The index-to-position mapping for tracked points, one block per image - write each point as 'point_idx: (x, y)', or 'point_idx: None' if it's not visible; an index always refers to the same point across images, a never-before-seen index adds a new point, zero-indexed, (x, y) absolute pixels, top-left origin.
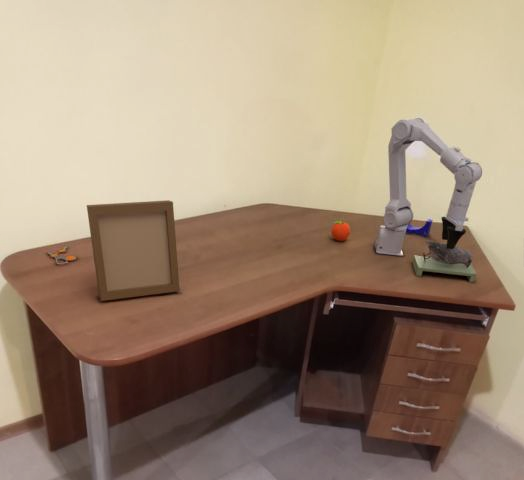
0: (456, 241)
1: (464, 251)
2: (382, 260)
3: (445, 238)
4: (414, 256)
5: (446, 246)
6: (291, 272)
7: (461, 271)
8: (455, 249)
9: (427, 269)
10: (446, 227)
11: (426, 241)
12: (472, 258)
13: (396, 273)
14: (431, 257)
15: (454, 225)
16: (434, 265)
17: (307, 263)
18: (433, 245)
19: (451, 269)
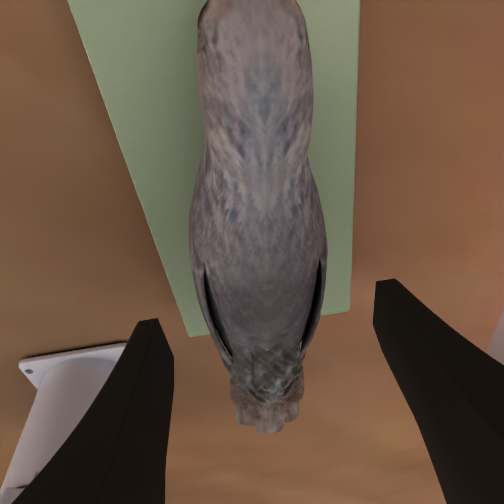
0: (455, 344)
1: (293, 134)
2: (222, 388)
3: (166, 352)
4: (201, 335)
5: (296, 312)
6: (399, 498)
7: (339, 63)
8: (298, 231)
9: (350, 271)
10: (155, 484)
11: (275, 422)
12: None
13: (335, 341)
14: (165, 264)
15: (116, 486)
16: None
17: (336, 493)
18: (300, 377)
19: (322, 143)
